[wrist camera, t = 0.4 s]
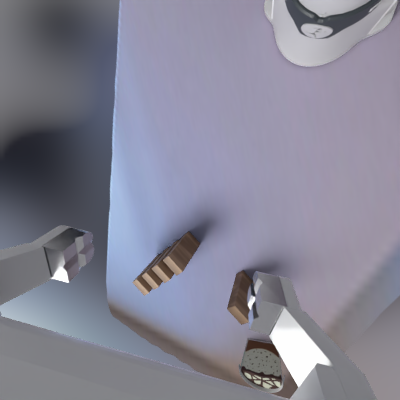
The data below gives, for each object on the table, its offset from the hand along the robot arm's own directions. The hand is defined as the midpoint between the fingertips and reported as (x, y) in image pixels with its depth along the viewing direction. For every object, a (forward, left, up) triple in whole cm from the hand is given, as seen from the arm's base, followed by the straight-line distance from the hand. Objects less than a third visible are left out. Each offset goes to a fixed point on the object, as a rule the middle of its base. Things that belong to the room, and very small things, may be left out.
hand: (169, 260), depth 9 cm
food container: (+56, +24, -38) cm, 72 cm away
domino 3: (+33, -11, -38) cm, 51 cm away
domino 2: (+37, -13, -38) cm, 54 cm away
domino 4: (+28, -8, -38) cm, 48 cm away
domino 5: (+33, +10, -38) cm, 51 cm away
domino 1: (+41, -16, -38) cm, 58 cm away
